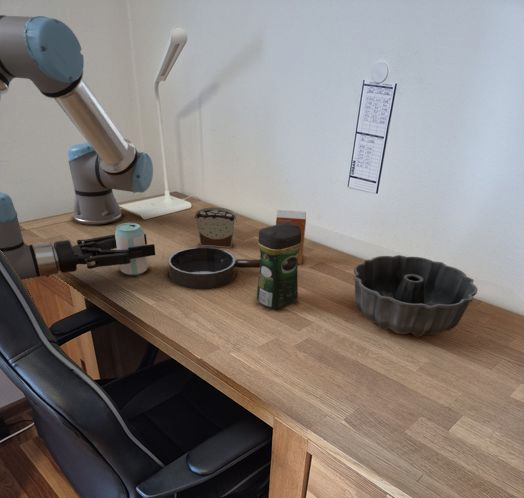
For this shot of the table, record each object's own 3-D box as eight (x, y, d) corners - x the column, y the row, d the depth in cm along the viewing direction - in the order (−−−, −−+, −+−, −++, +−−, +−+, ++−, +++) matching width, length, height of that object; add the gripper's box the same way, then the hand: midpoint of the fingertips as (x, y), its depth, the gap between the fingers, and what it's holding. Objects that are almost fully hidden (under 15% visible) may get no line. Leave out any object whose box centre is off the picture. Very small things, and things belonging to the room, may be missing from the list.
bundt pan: (326, 299, 111) (331, 260, 106) (415, 284, 120) (424, 248, 114) (389, 358, 91) (400, 315, 86) (490, 336, 100) (505, 295, 94)
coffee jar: (280, 289, 115) (284, 216, 104) (302, 301, 110) (309, 226, 99) (250, 300, 109) (252, 224, 99) (272, 313, 104) (276, 235, 94)
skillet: (172, 260, 127) (171, 247, 124) (234, 260, 128) (234, 247, 126) (166, 289, 112) (165, 274, 110) (236, 288, 114) (236, 274, 112)
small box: (273, 262, 128) (275, 216, 121) (274, 253, 133) (276, 209, 126) (302, 264, 128) (306, 218, 120) (301, 255, 133) (306, 211, 126)
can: (120, 266, 122) (113, 222, 115) (147, 264, 124) (142, 221, 117) (120, 277, 117) (113, 232, 110) (148, 275, 118) (143, 230, 111)
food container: (239, 240, 141) (239, 208, 135) (236, 248, 136) (236, 215, 130) (200, 237, 142) (198, 205, 136) (195, 245, 136) (194, 212, 131)
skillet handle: (233, 269, 119) (233, 261, 118) (233, 265, 121) (233, 257, 120) (283, 269, 120) (284, 261, 119) (282, 265, 122) (283, 258, 121)
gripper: (54, 257, 119) (141, 244, 128) (65, 289, 104) (163, 272, 113) (47, 229, 114) (138, 218, 124) (58, 258, 100) (160, 243, 109)
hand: (150, 244), depth 119 cm, fingers closed on can, 7 cm apart
